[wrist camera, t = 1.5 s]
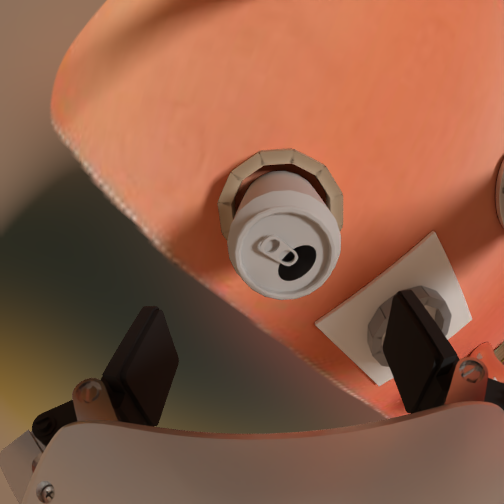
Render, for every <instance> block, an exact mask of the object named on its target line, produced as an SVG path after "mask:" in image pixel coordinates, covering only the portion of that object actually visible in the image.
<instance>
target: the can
mask: <svg viewBox="0 0 504 504" xmlns="http://www.w3.org/2000/svg"><path fill="white" fill-rule="evenodd" d="M227 245H228V252H229V259H230V261H231V263H232V265H233V267H234V269H235V271H236V273H237V274H238V275H239V276H240V277H241V278H242V280H243V281H244V282H245V283H246V284H247V285H248V286H249V287H250V288H251V289H252V290H254V291H256V292H258V293H259V294H261V295H263V296H265V297H269V298H274V299H278V300H287V299H297V298H300V297H303V296H306V295H309V294H310V293H312V292H313V291H315V290H316V289H318V288H319V287H321V286H322V285H323V283H324V282H325V281H326V280H327V278H328V277H329V276H330V275H331V272H332V270H333V269H334V268H335V265H336V263H337V260H338V258H339V255H340V252H341V234H340V231H339V228H338V225H337V221H336V219H335V218H334V216H333V215H332V213H331V212H330V210H329V209H328V207H327V206H326V205H325V203H324V202H323V200H322V199H321V197H320V196H319V195H318V193H317V192H316V190H315V189H314V188H313V187H312V185H311V184H310V183H309V182H308V180H306V179H305V178H303V177H301V176H300V175H298V174H296V173H293V172H289V171H272V172H269V173H267V174H264V175H262V176H260V177H259V178H257V179H256V180H255V181H254V182H253V183H251V185H250V186H249V188H248V190H247V191H246V193H245V195H244V197H243V199H242V201H241V204H240V206H239V208H238V210H237V212H236V215H235V217H234V219H233V221H232V223H231V226H230V231H229V236H228V240H227Z"/></svg>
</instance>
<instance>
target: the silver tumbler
mask: <svg viewBox="0 0 504 504" xmlns="http://www.w3.org/2000/svg"><path fill="white" fill-rule="evenodd" d="M469 357H473V358H476V359H479V360H480V361H482V362H483V363H484V364H485V366H486V367H487V370H488V378H491V379H493V380H496V381H499V382H502V383H504V364H503V363H502V362H501V361H500V360H499V358H498V357H497V356H496V354H495V352H494V349H493V347H492V345H491V343H489V342H485V343H483V344H481V345H479V346H478V347H477V348H476V349H475V350H474V351H473V352H472V353H471V354H470V356H469Z"/></svg>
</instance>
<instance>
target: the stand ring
mask: <svg viewBox="0 0 504 504" xmlns="http://www.w3.org/2000/svg"><path fill="white" fill-rule="evenodd" d="M276 164H294V165H296V166H298V167H300V168H302V169H304V170H306V171H308V172H310V173H312V174H314V175H315V177H316V178H317V180H318V181H319V183H320V184H321V186H322V188H323V189H324V191H325V192H326V206H327V207H328V209H329V210H330V212H331V213H332V215H333V216H334V218H335V219H336V221H337V225H338V228H339V231H341V229H342V225H343V195H342V194H343V193H342V192H341V190H340V188H339V187H338V185H337V183H336V182H335V180H334V178H333V177H332V175H331V173H330V172H329V170H328V169H327V167H326V166H325V165H324V164H322V163H320V162H318V161H317V160H315V159H313V158H311V157H309V156H307V155H305V154H303V153H301V152H299V151H297V150H295V149H292V148H290V149H274V150H261V151H259V152H257V153H256V154H255V155H253V156H252V157H250V158H249V159H247V160H246V161H244V162H243V163H242V164H240V165H239V166H237V167H236V168H235V169H234V170H232V171H231V173H230V175H229V177H228V179H227V181H226V184H225V186H224V188H223V191H222V193H221V195H220V198H219V200H218V210H219V217H220V224H221V231H222V233H223V234H222V235H223V236H224V237H225V238H226V240H228V236H229V231H230V226H231V223H232V221H233V219H234V217H235V215H236V207H235V196H236V194H237V192H238V189H239V187H240V185H241V183H242V181H243V179H245V178H246V177H248V176H249V175H251V174H252V173H254V172H255V171H256V170H258V169H259V168H261V167H262V166H264V165H276Z"/></svg>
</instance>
